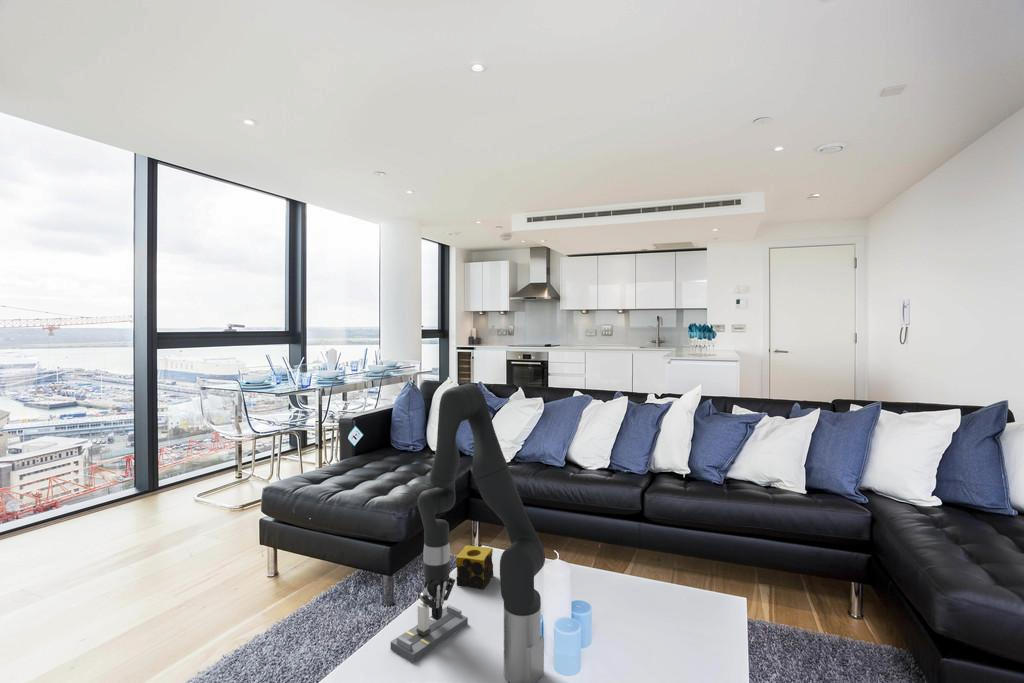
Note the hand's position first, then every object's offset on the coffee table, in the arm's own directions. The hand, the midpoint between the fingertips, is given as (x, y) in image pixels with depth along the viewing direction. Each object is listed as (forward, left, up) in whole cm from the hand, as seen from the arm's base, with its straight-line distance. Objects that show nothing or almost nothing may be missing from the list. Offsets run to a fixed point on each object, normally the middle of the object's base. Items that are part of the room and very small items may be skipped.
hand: (437, 618), depth 143 cm
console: (0, +2, -4) cm, 5 cm away
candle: (+11, -29, -4) cm, 31 cm away
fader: (0, +5, -2) cm, 5 cm away
